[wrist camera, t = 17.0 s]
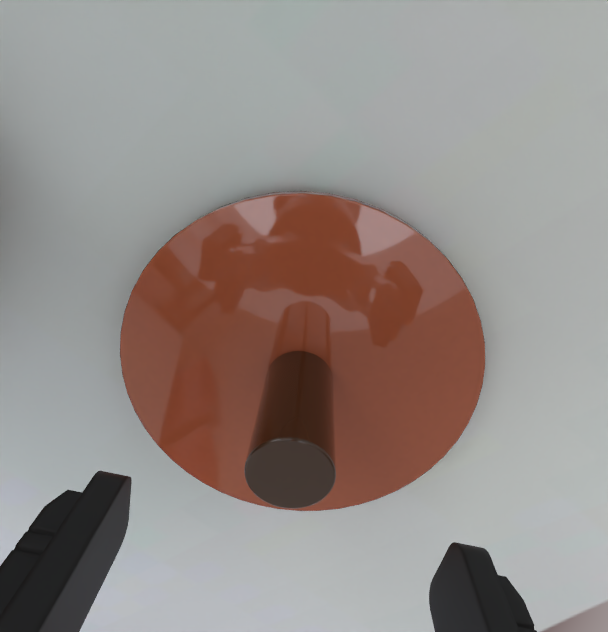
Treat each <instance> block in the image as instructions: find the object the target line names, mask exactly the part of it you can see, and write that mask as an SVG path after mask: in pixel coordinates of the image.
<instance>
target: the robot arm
mask: <svg viewBox="0 0 608 632" xmlns="http://www.w3.org/2000/svg"><path fill="white" fill-rule="evenodd" d="M130 494H131V477H128V476H123V475H118V474H113V473H108V472H103V471H98V472H97V473H96V474H95V475H94V476H93V478H92V479H91V481H90V482H89V484H88V485H87V487H86V488H85V490H84V491H83V493H81V492H76V491H71V490H67V491H65V492H64V493H63V494H61V495H60V496H58V497H57V498H56V499H54V500H53V501H51V502H50V503H49V504H47V505H46V506H45V507H44V508H43V510H42V511H41V512H40V514H39V515H38V516H37V518H36V519H35V520H34V522H33V523H32V524H31V526H30V527H29V530H28V532H25V534H24V535H23V536H22V538H21V539H20V540H19V542H18V543H17V544H16V547H15V549H14V550H12V551H11V552H10V554H9V555H8V556H7V558H6V559H5V561H4V562H3V563H2V565H1V566H0V632H79V631H80V629H81V627H82V625H83V623H84V621H85V618H86V616H87V614H88V612H89V610H90V608H91V606H92V604H93V602H94V600H95V598H96V596H97V594H98V592H99V590H100V588H101V586H102V584H103V582H104V580H105V578H106V576H107V574H108V572H109V570H110V568H111V566H112V564H113V561H114V559H115V557H116V555H117V553H118V551H119V549H120V547H121V545H122V542H123V539H124V537H125V533H126V530H127V526H128V520H129V507H130ZM429 604H430V611H431V615H432V620H433V624H434V629H435V632H537V631H536V630H534V624H533V621H532V619H531V617H530V614H529V612H528V610H527V607H526V605H525V603H524V600H523V599H522V598H521V596H520V595H519V593H518V592H517V591H516V589H515V588H514V587H513V585H512V584H511V583H510V581H509V580H508V579H507V577H504V576H499V575H497V572H496V570H495V567H494V565H493V562H492V560H491V557H490V555H489V553H488V552H487V550H486V549H484V548H480V547H475V546H470V545H465V544H460V543H452V544H451V545H450V546H449V548H448V550H447V552H446V554H445V556H444V558H443V560H442V562H441V564H440V566H439V568H438V570H437V572H436V573H435V575H434V577H433V579H432V582H431V585H430V592H429Z"/></svg>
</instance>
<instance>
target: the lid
mask: <svg viewBox="0 0 608 632" xmlns="http://www.w3.org/2000/svg"><path fill="white" fill-rule="evenodd" d="M120 357H121V366H122V374H123V378H124V382H125V385H126V389H127V393H128V395H129V398H130V400H131V403H132V405H133V407H134V410H135V412H136V414H137V415H138V417H139V419H140V421H141V422H142V424H143V426H144V427H145V429H146V430H147V432H148V433H149V434H150V436H151V437H152V438H153V440H154V441H155V442H156V444H157V445H158V446H159V447H160V448H161V449H162V450H163V451H164V452H165V453H166V454H167V455H168V456H169V457H170V458H171V459H172V460H173V461H174V462H175V463H177V464H178V465H179V466H180V467H181V468H183V469H184V470H185V471H186V472H188V473H189V474H191V475H192V476H194V477H195V478H197V479H198V480H200V481H201V482H203V483H205V484H206V485H208V486H210V487H212V488H214V489H216V490H218V491H220V492H222V493H225V494H227V495H230V496H232V497H235V498H237V499H240V500H243V501H246V502H250V503H253V504H257V505H261V506H266V507H271V508H277V509H285V510H296V511H321V510H330V509H340V508H345V507H350V506H354V505H359V504H362V503H366V502H369V501H372V500H375V499H378V498H381V497H383V496H385V495H388V494H390V493H392V492H395V491H397V490H399V489H400V488H402V487H404V486H406V485H408V484H409V483H411V482H413V481H414V480H416V479H417V478H419V477H420V476H421V475H423V474H424V473H425V472H427V471H428V470H430V469H431V468H432V467H433V466H434V465H435V464H436V463H437V462H438V461H439V460H441V459H442V458H443V457H444V456H445V455H446V453H447V452H448V451H449V450H450V449H451V448H452V446H453V445H454V444H455V443H456V442H457V440H458V439H459V437H460V436H461V434H462V432H463V431H464V429H465V428H466V426H467V425H468V423H469V421H470V419H471V416H472V414H473V412H474V410H475V408H476V405H477V402H478V399H479V395H480V392H481V388H482V384H483V377H484V369H485V341H484V336H483V331H482V325H481V320H480V317H479V314H478V312H477V309H476V306H475V303H474V300H473V298H472V296H471V294H470V292H469V290H468V289H467V287H466V285H465V283H464V281H463V279H462V278H461V276H460V275H459V274H458V272H457V271H456V270H455V268H454V267H453V266H452V264H451V263H450V262H449V260H448V259H447V258H446V257H445V256H444V254H443V253H442V252H441V251H440V250H439V249H438V248H437V247H435V246H434V245H433V244H432V243H431V242H430V241H429V240H428V239H427V238H426V237H425V236H424V235H423V234H421V233H420V232H419V231H417V230H416V229H414V228H413V227H412V226H410V225H409V224H408V223H406V222H405V221H403V220H401V219H399V218H398V217H396V216H394V215H392V214H390V213H388V212H386V211H385V210H383V209H381V208H378V207H375V206H373V205H370V204H367V203H364V202H362V201H359V200H356V199H352V198H348V197H343V196H339V195H334V194H330V193H319V192H307V191H292V192H274V193H268V194H263V195H258V196H253V197H248V198H245V199H242V200H239V201H236V202H233V203H230V204H227V205H224V206H222V207H220V208H218V209H216V210H214V211H212V212H210V213H208V214H206V215H204V216H202V217H200V218H198V219H197V220H196V221H194V222H193V223H191V224H190V225H188V226H187V227H186V228H184V229H183V230H181V231H180V232H179V233H177V234H176V235H175V236H174V237H172V238H171V239H170V240H169V241H168V242H167V243H166V244H165V245H164V246H163V247H162V248H161V249H160V250H159V251H158V252H157V253H156V254H155V256H154V257H153V258H152V260H151V261H150V262H149V264H148V265H147V266H146V267H145V269H144V270H143V272H142V273H141V275H140V277H139V279H138V281H137V283H136V284H135V286H134V288H133V290H132V292H131V295H130V298H129V301H128V304H127V306H126V309H125V313H124V318H123V323H122V328H121V341H120Z"/></svg>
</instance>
